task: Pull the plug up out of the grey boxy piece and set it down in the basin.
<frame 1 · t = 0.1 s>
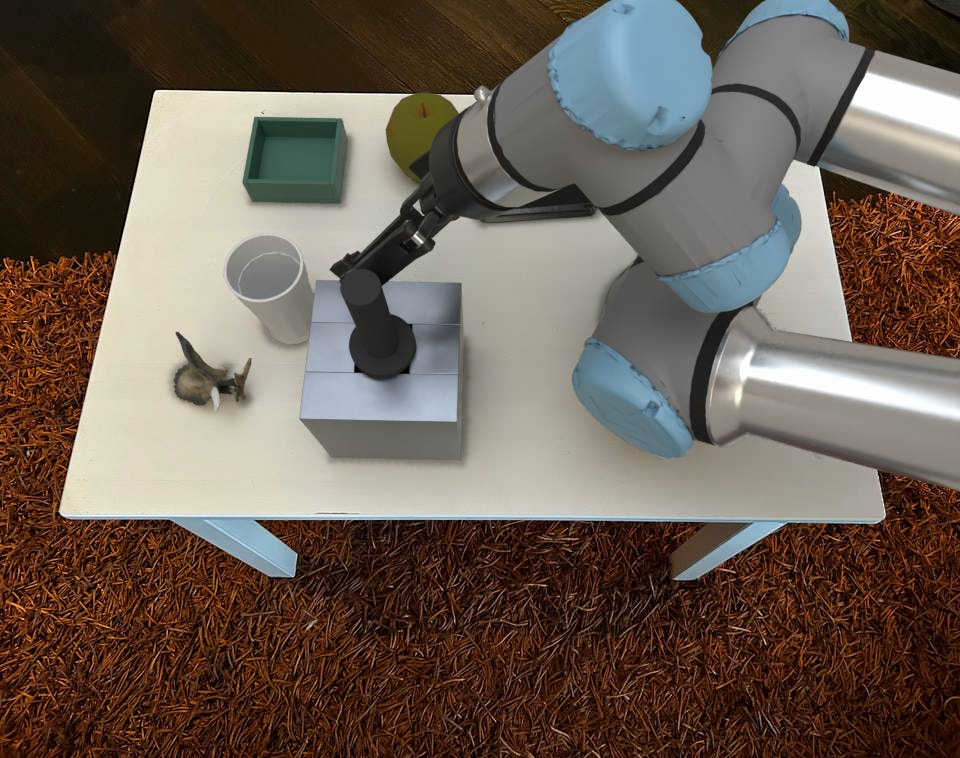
hand: (382, 223, 63), 15 cm above the table, tool tilted 35°, fingers open, 13 cm apart
phone: (535, 194, 83), on the table
plug: (386, 356, 62), point 12 cm above the table, touching grey boxy piece
grey boxy piece: (400, 398, 73), on the table
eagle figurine: (216, 384, 74), on the table
basin: (301, 169, 84), on the table
cup: (295, 320, 77), on the table
apple: (429, 166, 85), on the table
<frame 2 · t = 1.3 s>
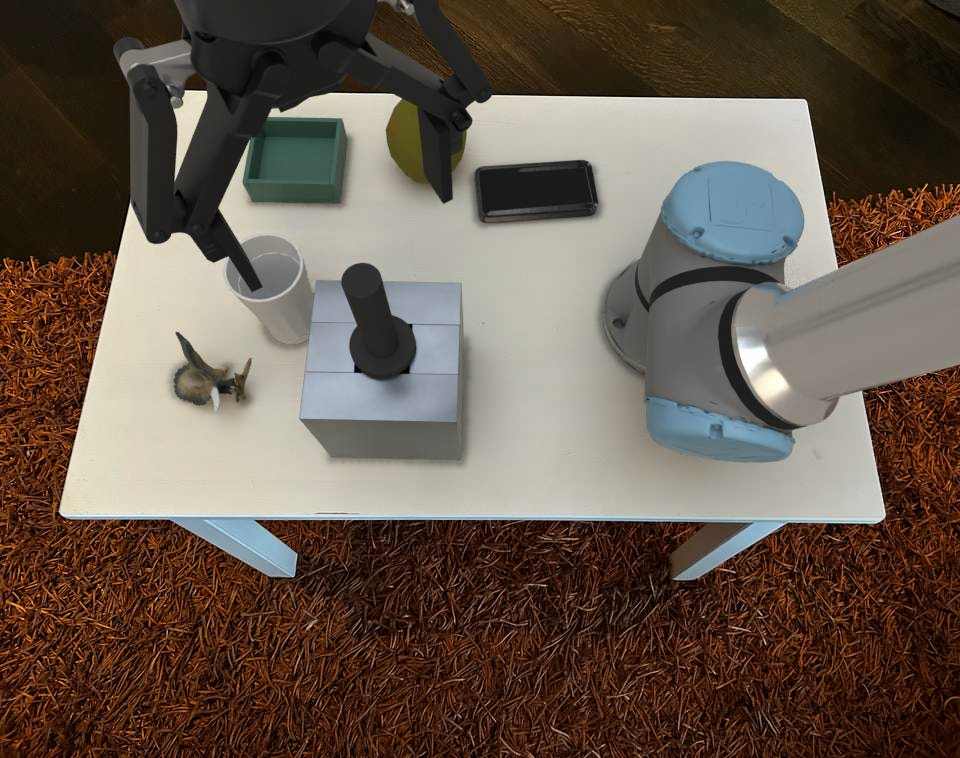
hand: (346, 229, 42), 33 cm above the table, tool pointing down, fingers open, 13 cm apart
nothing on the table moved.
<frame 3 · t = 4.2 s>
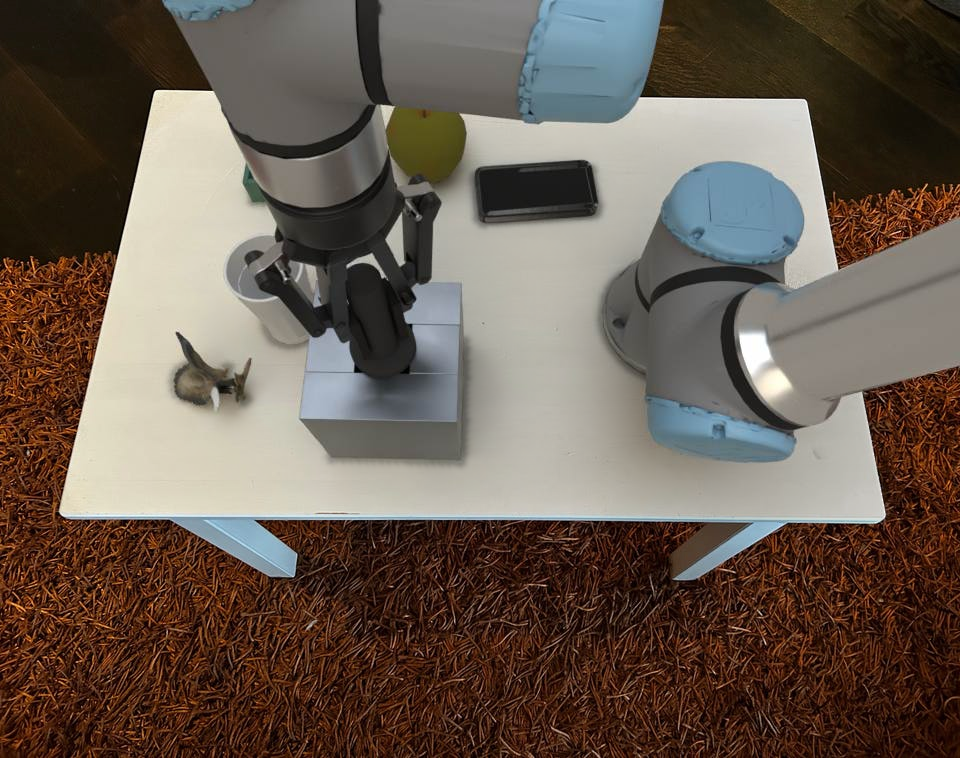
hand: (379, 336, 58), 17 cm above the table, tool pointing down, fingers closed on plug, 3 cm apart
plug: (387, 358, 62), point 12 cm above the table, touching gripper
everything else where it was.
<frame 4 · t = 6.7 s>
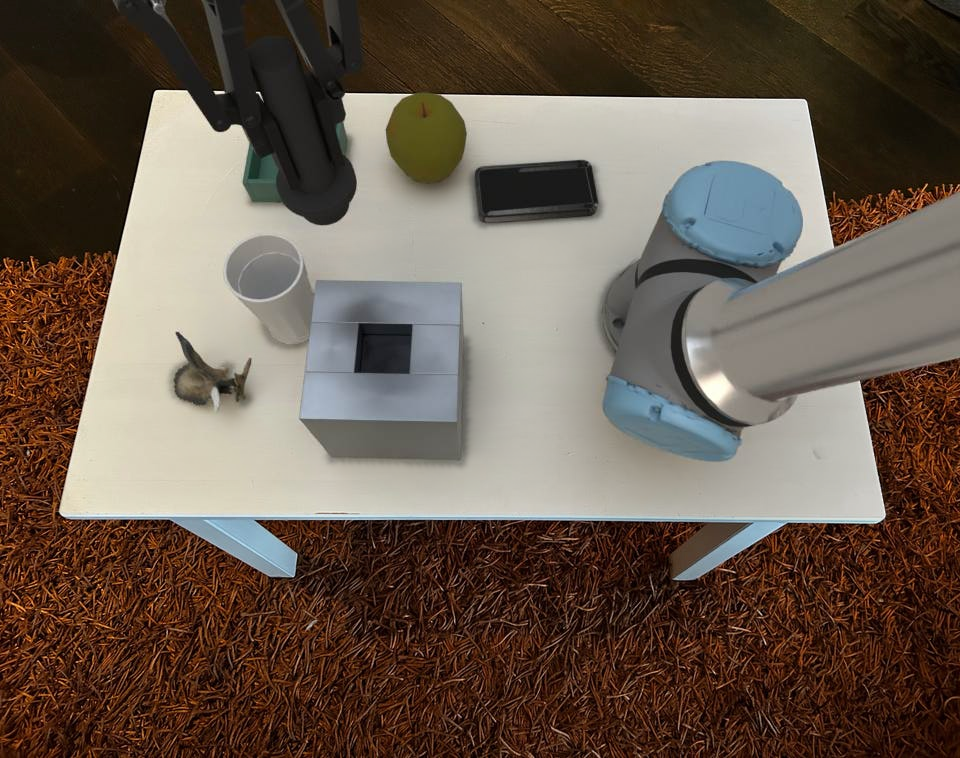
hand: (310, 164, 48), 30 cm above the table, tool pointing down, fingers closed on plug, 3 cm apart
plug: (325, 205, 53), point 25 cm above the table, touching gripper
everything else where it was.
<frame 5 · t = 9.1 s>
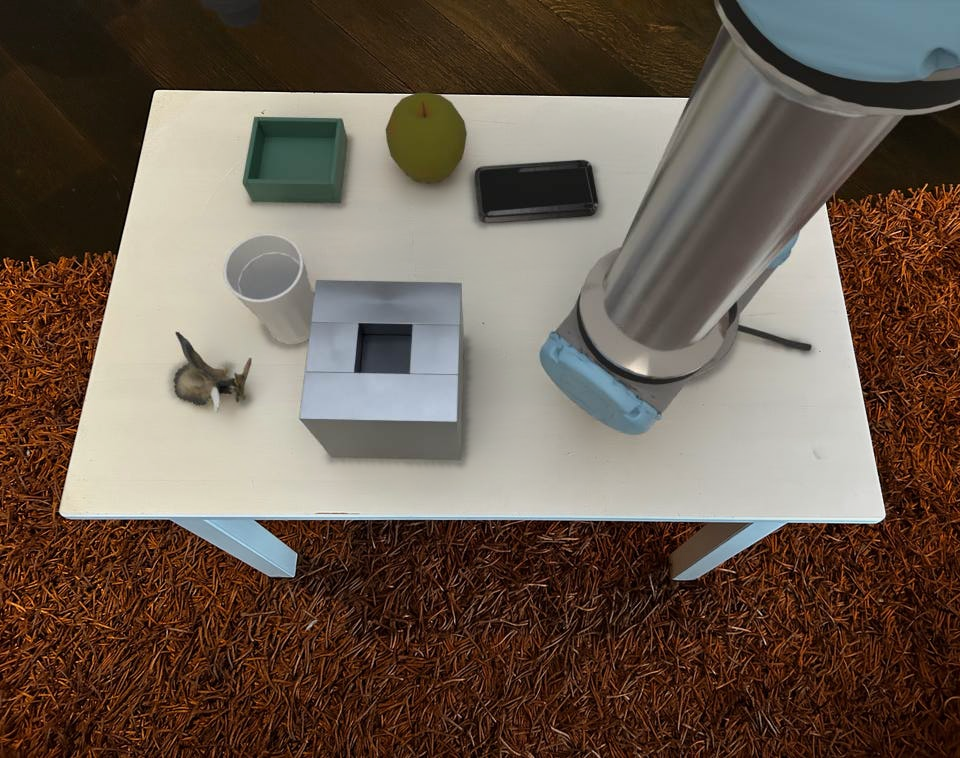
plug: (240, 13, 62), point 24 cm above the table, touching gripper
everything else where it was.
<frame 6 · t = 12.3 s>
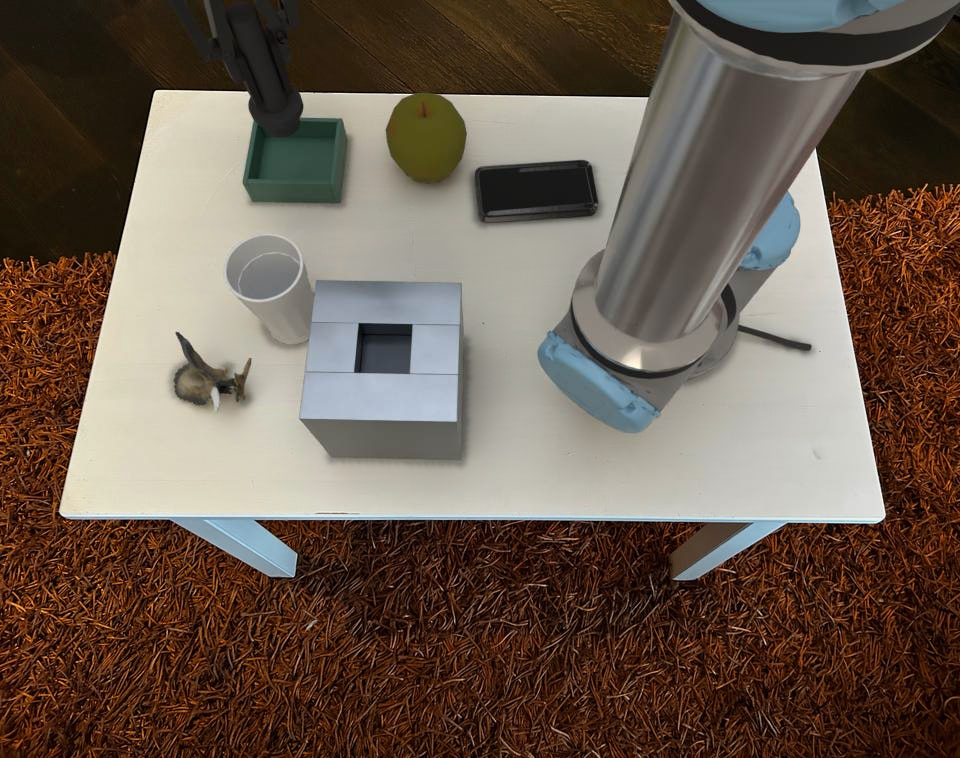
hand: (270, 92, 72), 13 cm above the table, tool pointing down, fingers closed on plug, 3 cm apart
plug: (283, 124, 77), point 8 cm above the table, touching gripper
everything else where it was.
when the fingers open (6 cm above the table, at t = 14.2 s): plug stays where it is, resting on basin.
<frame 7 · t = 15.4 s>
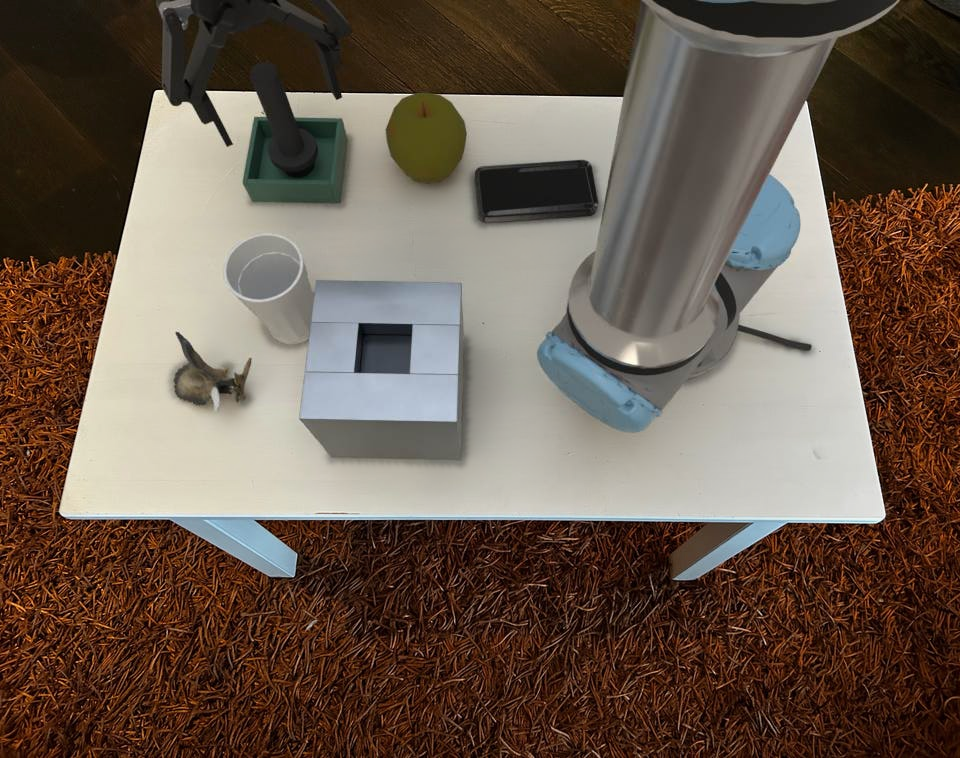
hand: (281, 114, 75), 10 cm above the table, tool pointing down, fingers open, 13 cm apart
plug: (299, 165, 84), point 1 cm above the table, touching basin
everything else where it was.
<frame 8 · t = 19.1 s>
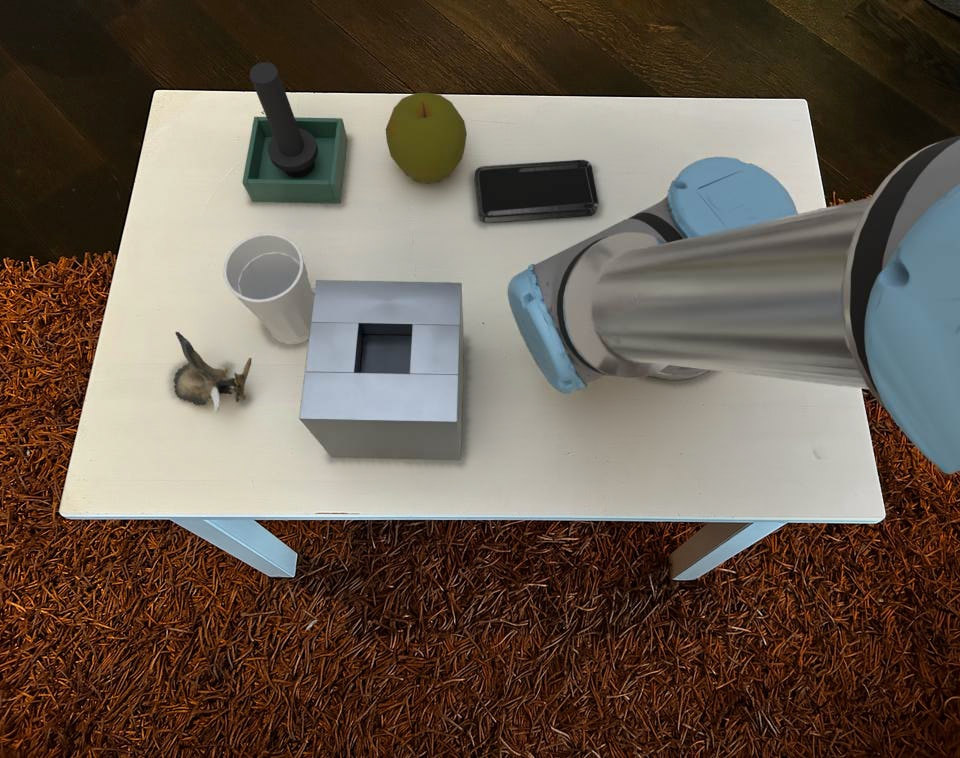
nothing on the table moved.
at the end: plug inside the target area in the basin (0.1 cm from its centre), point 0.7 cm above the basin's base; the gripper is holding nothing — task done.
